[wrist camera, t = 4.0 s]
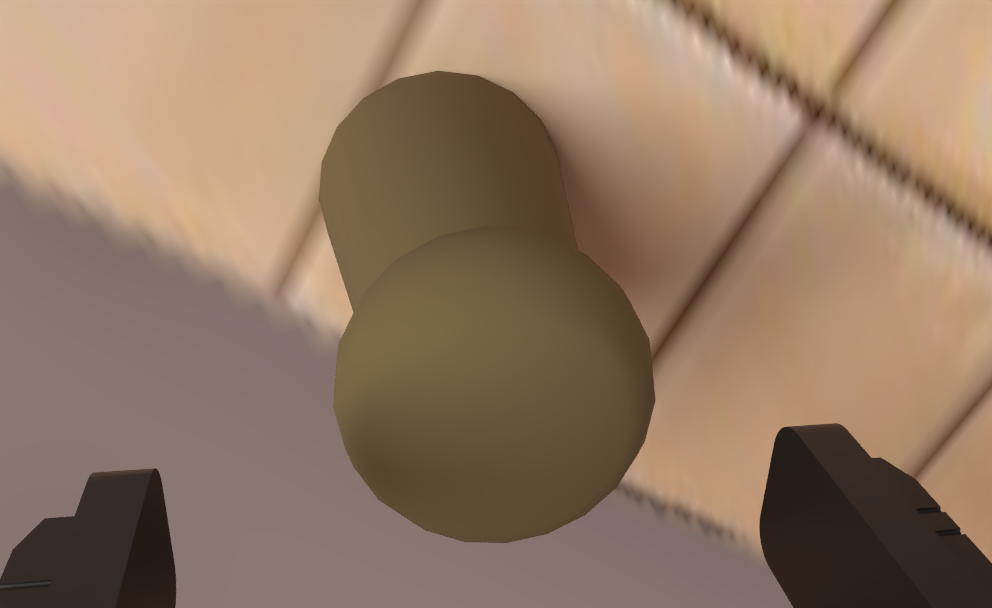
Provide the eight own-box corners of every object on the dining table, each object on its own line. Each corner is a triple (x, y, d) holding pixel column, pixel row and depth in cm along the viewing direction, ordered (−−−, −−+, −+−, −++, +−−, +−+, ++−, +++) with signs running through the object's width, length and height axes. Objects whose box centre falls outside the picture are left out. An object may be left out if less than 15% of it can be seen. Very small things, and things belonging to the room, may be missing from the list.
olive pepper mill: (278, 122, 22) (229, 352, 13) (519, 34, 22) (658, 196, 13) (372, 332, 25) (392, 651, 15) (588, 254, 25) (743, 526, 15)
